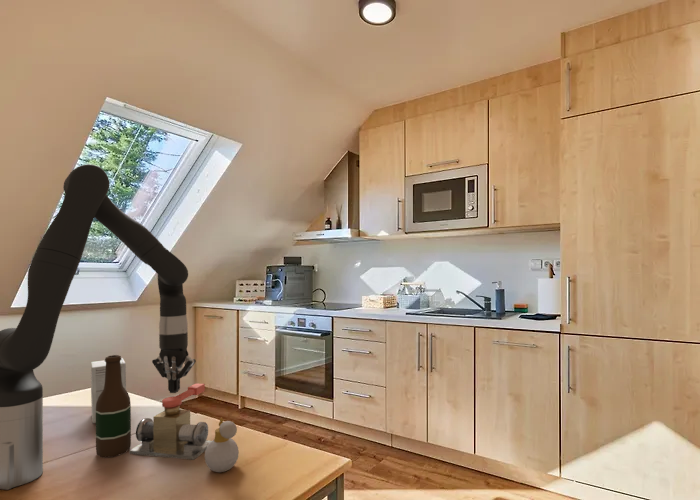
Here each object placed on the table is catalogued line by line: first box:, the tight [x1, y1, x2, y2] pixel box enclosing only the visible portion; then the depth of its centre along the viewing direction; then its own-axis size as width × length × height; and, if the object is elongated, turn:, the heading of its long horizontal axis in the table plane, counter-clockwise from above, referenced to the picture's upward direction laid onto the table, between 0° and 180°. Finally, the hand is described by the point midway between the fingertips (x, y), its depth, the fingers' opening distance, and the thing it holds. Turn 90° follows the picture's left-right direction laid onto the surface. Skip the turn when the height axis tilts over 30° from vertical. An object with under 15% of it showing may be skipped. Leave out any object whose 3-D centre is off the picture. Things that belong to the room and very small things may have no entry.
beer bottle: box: [95, 354, 132, 459], centre depth 110 cm, size 8×8×24 cm
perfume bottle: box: [204, 417, 240, 473], centre depth 99 cm, size 8×10×12 cm
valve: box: [128, 405, 213, 460], centre depth 111 cm, size 9×18×11 cm, turn 77°
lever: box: [161, 382, 206, 408], centre depth 116 cm, size 15×5×2 cm, turn 167°
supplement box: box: [90, 357, 127, 424], centre depth 136 cm, size 10×9×17 cm
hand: (174, 392), depth 123 cm, fingers closed
